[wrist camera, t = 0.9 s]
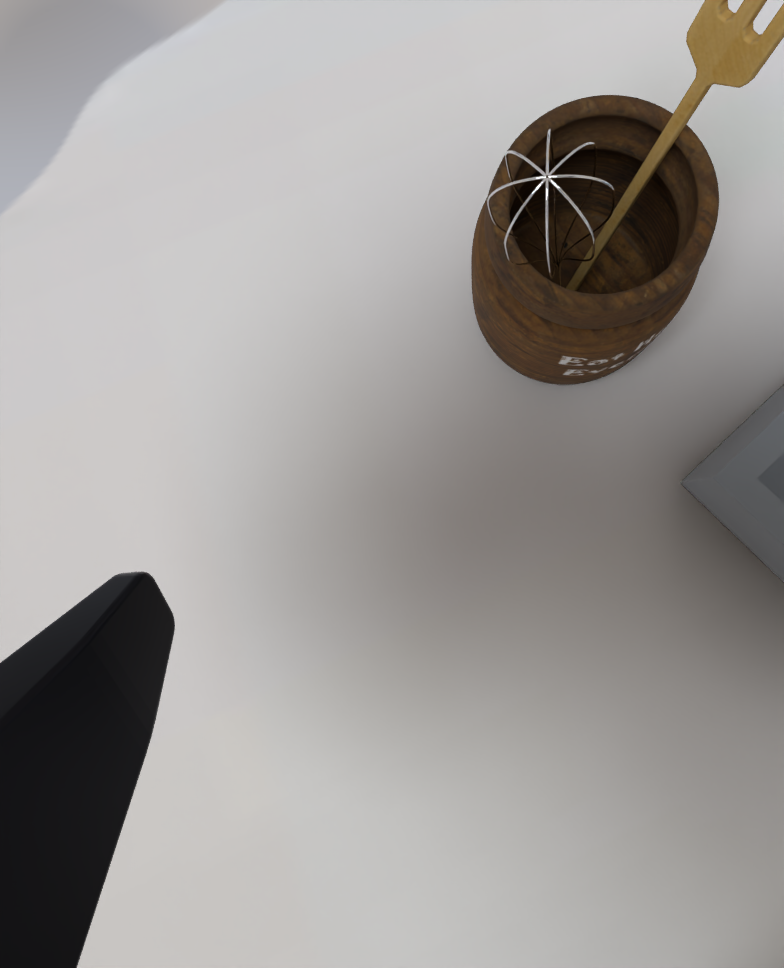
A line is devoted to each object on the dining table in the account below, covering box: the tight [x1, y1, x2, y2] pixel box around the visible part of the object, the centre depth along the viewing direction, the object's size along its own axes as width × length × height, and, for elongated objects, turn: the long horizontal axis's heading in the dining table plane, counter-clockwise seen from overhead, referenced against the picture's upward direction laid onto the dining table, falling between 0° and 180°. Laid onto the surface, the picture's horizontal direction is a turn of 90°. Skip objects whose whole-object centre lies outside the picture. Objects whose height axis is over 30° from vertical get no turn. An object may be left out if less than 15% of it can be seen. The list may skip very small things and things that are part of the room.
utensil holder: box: [472, 0, 784, 384], centre depth 16 cm, size 6×6×12 cm
